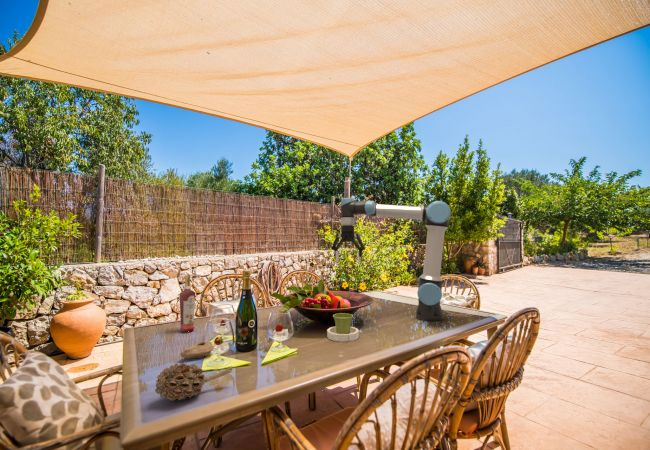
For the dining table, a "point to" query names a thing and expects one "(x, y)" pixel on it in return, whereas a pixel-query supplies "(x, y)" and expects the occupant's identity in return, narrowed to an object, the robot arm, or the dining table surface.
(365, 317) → the dining table surface
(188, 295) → the liquor
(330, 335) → the saucer
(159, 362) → the dining table surface
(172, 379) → the banksia seed pod
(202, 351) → the pottery oil lamp
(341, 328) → the plant pot
